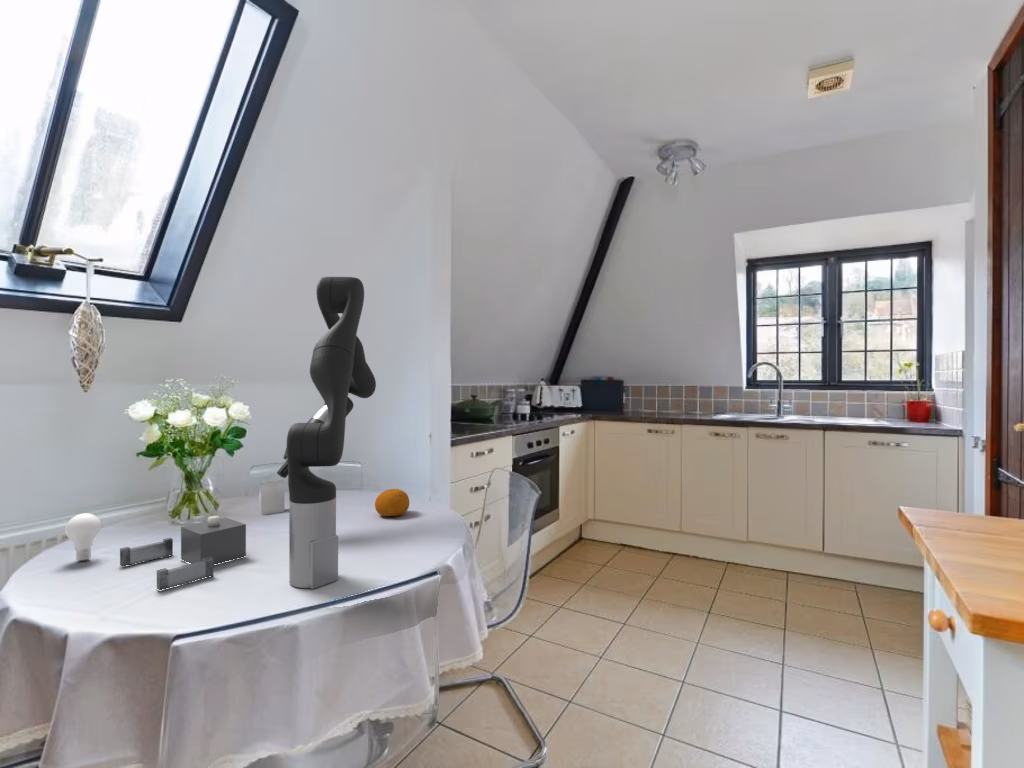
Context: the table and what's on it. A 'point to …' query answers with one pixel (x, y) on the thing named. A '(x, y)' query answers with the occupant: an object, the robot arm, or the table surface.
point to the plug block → (213, 540)
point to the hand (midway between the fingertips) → (280, 475)
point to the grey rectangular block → (271, 497)
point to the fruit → (392, 502)
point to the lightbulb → (83, 533)
